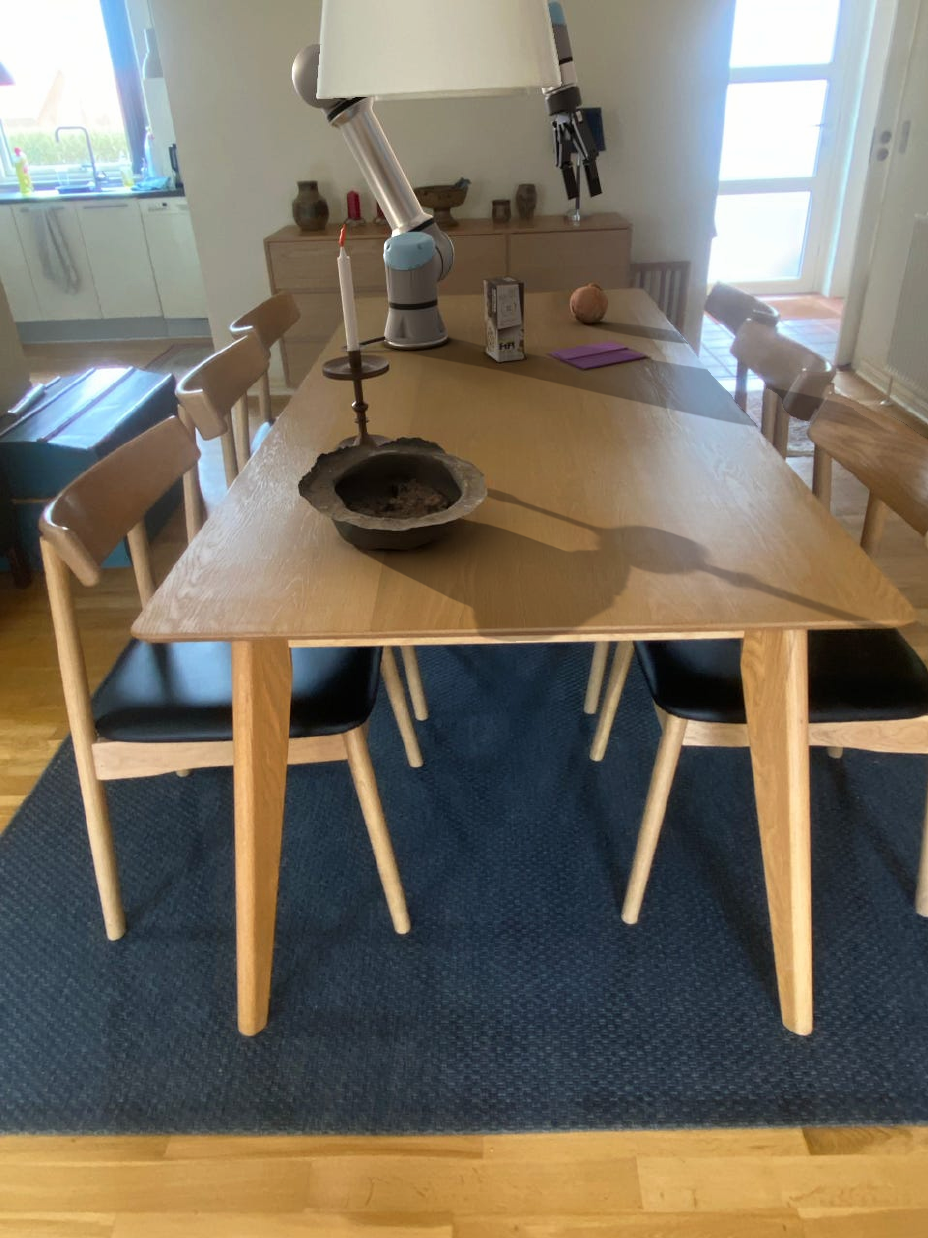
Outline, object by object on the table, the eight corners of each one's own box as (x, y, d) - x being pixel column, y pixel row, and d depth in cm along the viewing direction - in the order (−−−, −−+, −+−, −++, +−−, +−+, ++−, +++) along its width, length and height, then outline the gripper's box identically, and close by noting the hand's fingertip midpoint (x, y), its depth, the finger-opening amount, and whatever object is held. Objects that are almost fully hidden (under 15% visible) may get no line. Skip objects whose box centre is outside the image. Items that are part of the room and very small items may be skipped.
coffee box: (525, 359, 182) (525, 282, 173) (497, 362, 181) (496, 285, 172) (511, 349, 189) (510, 274, 181) (485, 352, 188) (482, 277, 179)
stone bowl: (330, 488, 126) (326, 430, 121) (491, 500, 125) (495, 442, 120) (284, 565, 105) (278, 499, 100) (477, 581, 104) (481, 514, 99)
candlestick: (391, 434, 146) (371, 216, 127) (401, 456, 137) (380, 226, 118) (330, 441, 144) (300, 222, 125) (336, 464, 135) (304, 231, 116)
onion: (591, 330, 212) (601, 290, 210) (609, 327, 204) (619, 286, 202) (559, 320, 209) (569, 279, 207) (576, 317, 200) (586, 274, 198)
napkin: (584, 369, 174) (584, 366, 173) (550, 354, 184) (550, 351, 184) (646, 357, 179) (647, 354, 179) (610, 343, 190) (610, 340, 189)
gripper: (599, 74, 164) (622, 188, 174) (557, 93, 186) (579, 194, 196) (565, 86, 164) (590, 199, 174) (526, 104, 186) (550, 204, 196)
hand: (584, 197), depth 185 cm, fingers open, 13 cm apart
